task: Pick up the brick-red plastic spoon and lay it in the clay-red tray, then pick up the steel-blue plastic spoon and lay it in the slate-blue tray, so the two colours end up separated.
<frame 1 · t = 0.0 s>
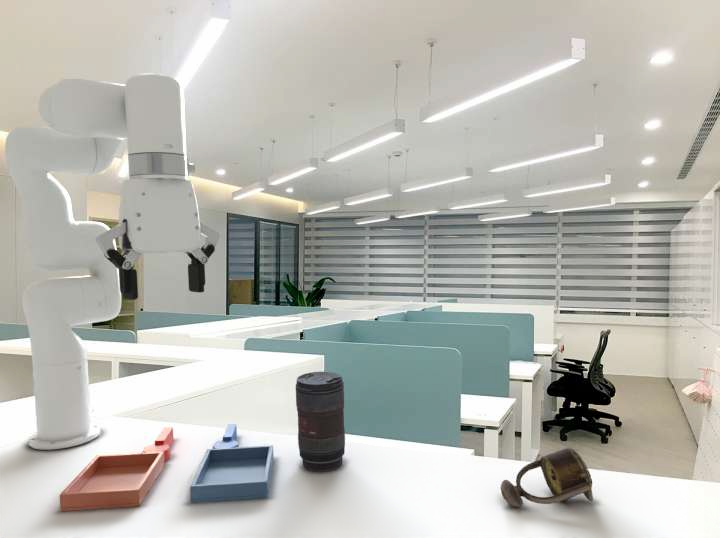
hand: (164, 295, 81), 31 cm above the table, tool pointing down, fingers open, 9 cm apart
red spoon: (162, 450, 107), on the table
red tray: (117, 486, 92), on the table
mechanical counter: (545, 498, 85), on the table
blue tray: (235, 479, 94), on the table
camera lens: (322, 465, 99), on the table
blue spoon: (229, 446, 108), on the table
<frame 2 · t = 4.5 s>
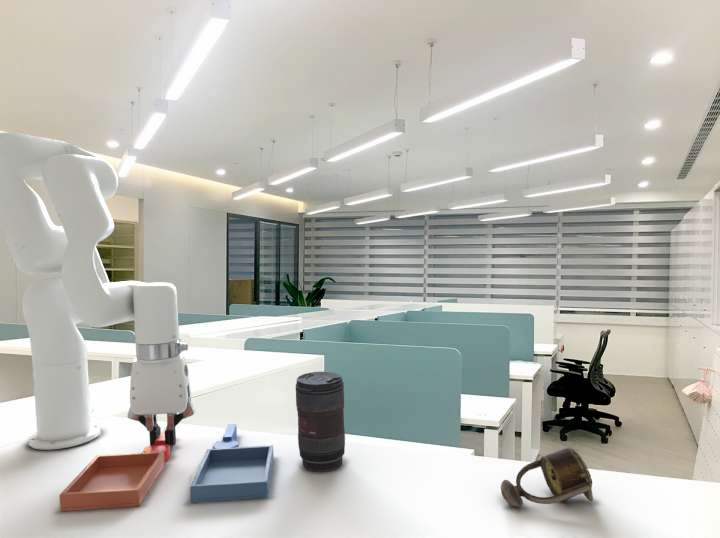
hand: (163, 448, 107), 0 cm above the table, tool pointing down, fingers closed on red spoon
red spoon: (162, 450, 107), on the table, touching gripper
everything else where it was.
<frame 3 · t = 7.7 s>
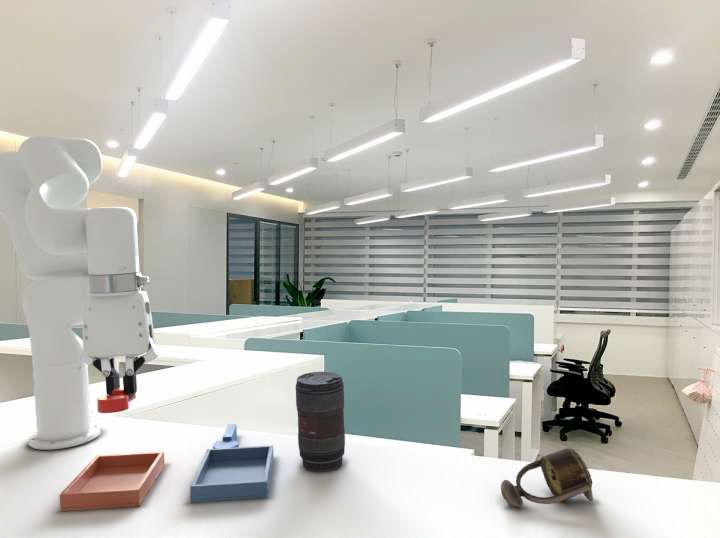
hand: (122, 397, 94), 13 cm above the table, tool pointing down, fingers closed on red spoon
red spoon: (121, 404, 94), point 13 cm above the table, touching gripper
everything else where it was.
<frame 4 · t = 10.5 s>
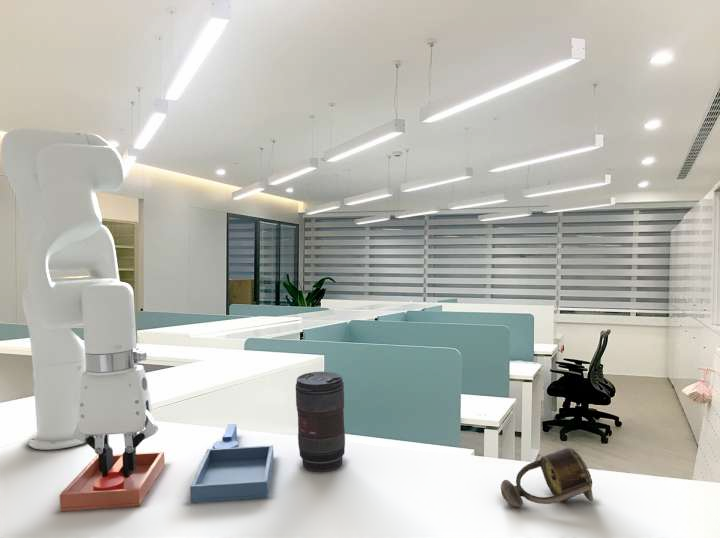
hand: (118, 473, 93), 2 cm above the table, tool pointing down, fingers closed
red spoon: (118, 482, 92), resting on red tray
everything else where it was.
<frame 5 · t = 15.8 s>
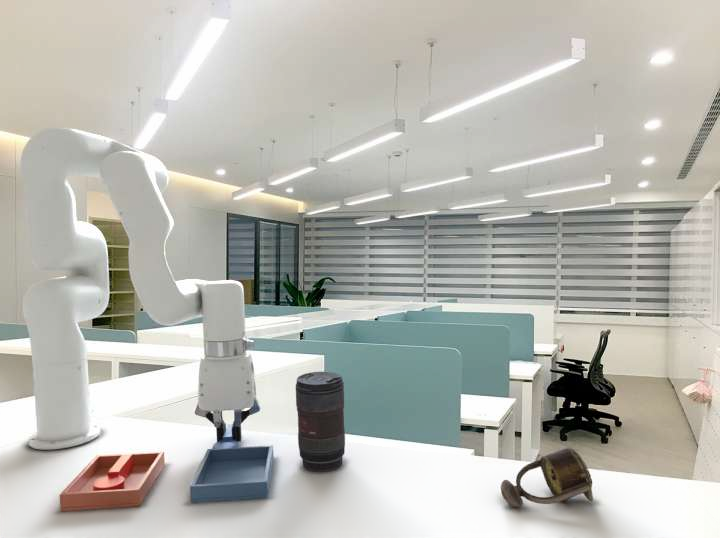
hand: (229, 445, 108), 0 cm above the table, tool pointing down, fingers closed on blue spoon
blue spoon: (229, 446, 108), on the table, touching gripper
everything else where it was.
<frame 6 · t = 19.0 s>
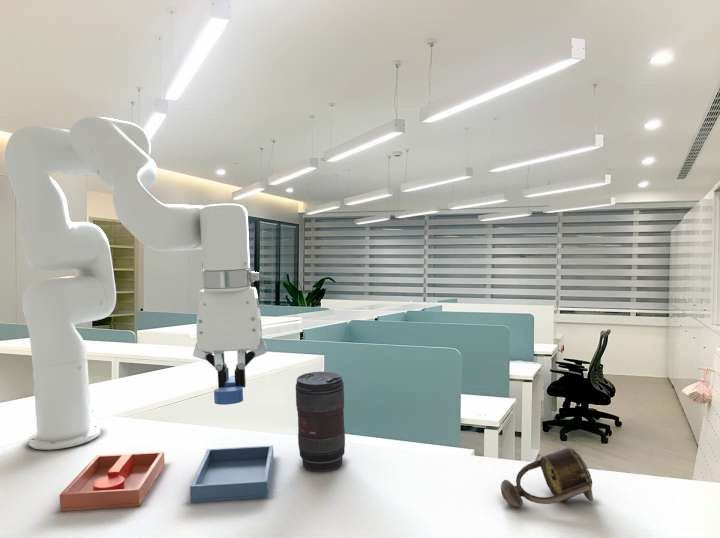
hand: (232, 391, 96), 13 cm above the table, tool pointing down, fingers closed on blue spoon
blue spoon: (232, 396, 95), point 13 cm above the table, touching gripper
everything else where it was.
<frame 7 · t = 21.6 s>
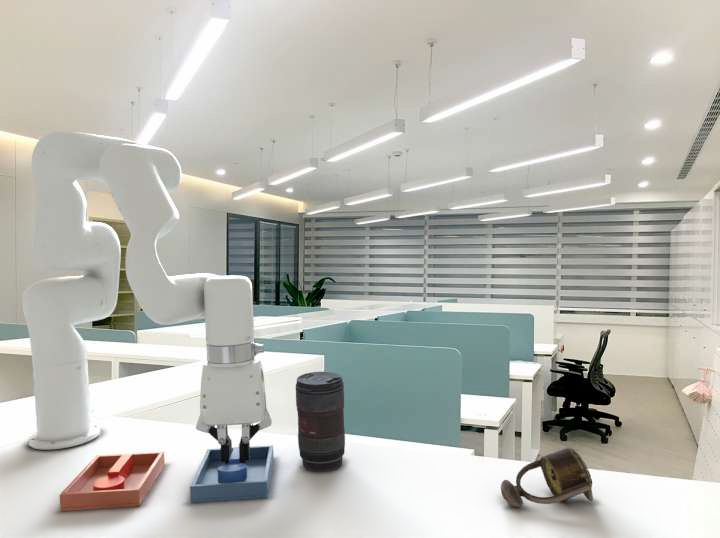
hand: (236, 464, 95), 2 cm above the table, tool pointing down, fingers closed on blue spoon
blue spoon: (235, 471, 94), point 1 cm above the table, tilted 6°, touching gripper
everything else where it was.
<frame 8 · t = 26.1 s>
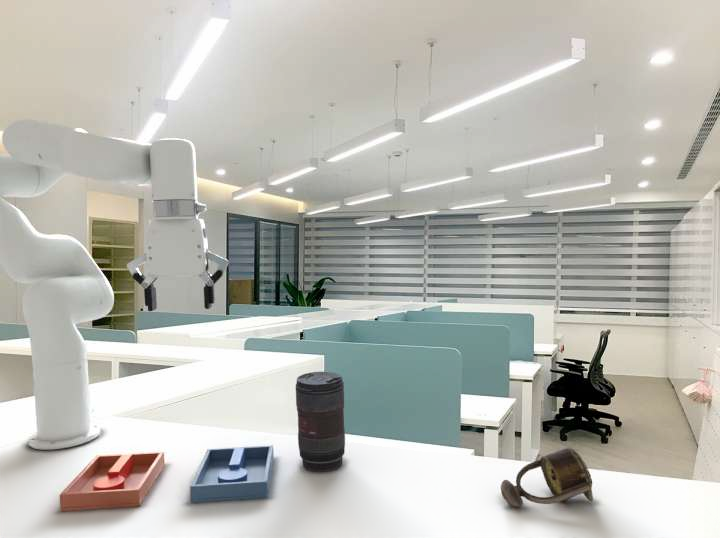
hand: (180, 309, 103), 26 cm above the table, tool pointing down, fingers open, 9 cm apart
blue spoon: (236, 475, 94), resting on blue tray
everything else where it was.
at the end: red spoon inside the target area in the red tray (0.3 cm from its centre), point 0.5 cm above the red tray's base; blue spoon inside the target area in the blue tray (0.4 cm from its centre), point 0.5 cm above the blue tray's base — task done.
